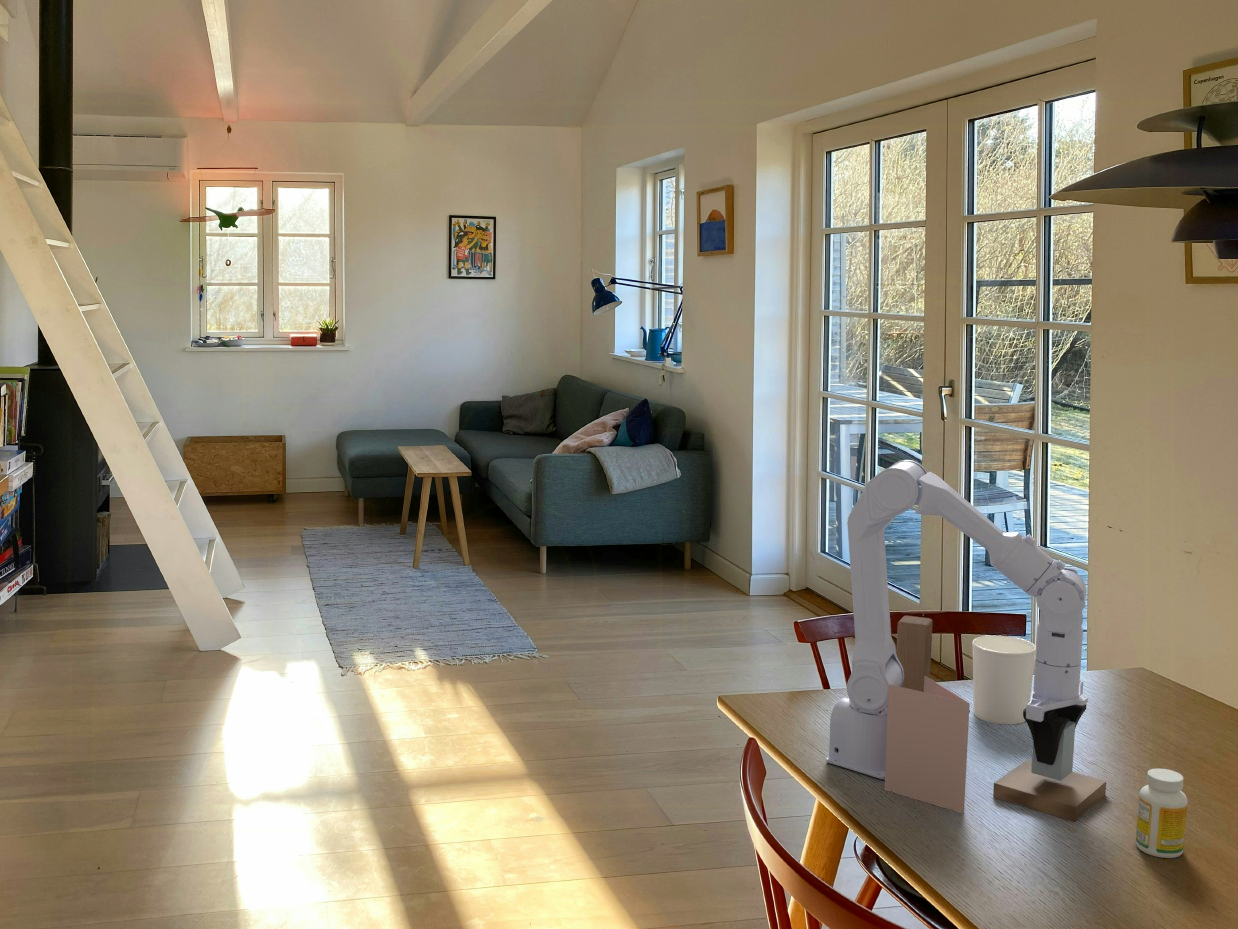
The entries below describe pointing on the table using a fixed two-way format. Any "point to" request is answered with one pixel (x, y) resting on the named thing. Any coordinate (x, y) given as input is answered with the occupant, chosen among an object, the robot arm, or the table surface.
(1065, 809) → the walnut base
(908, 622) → the wooden block
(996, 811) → the table surface
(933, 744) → the greeting card
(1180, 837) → the supplement bottle
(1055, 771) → the slate block
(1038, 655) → the robot arm
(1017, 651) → the candle holder
